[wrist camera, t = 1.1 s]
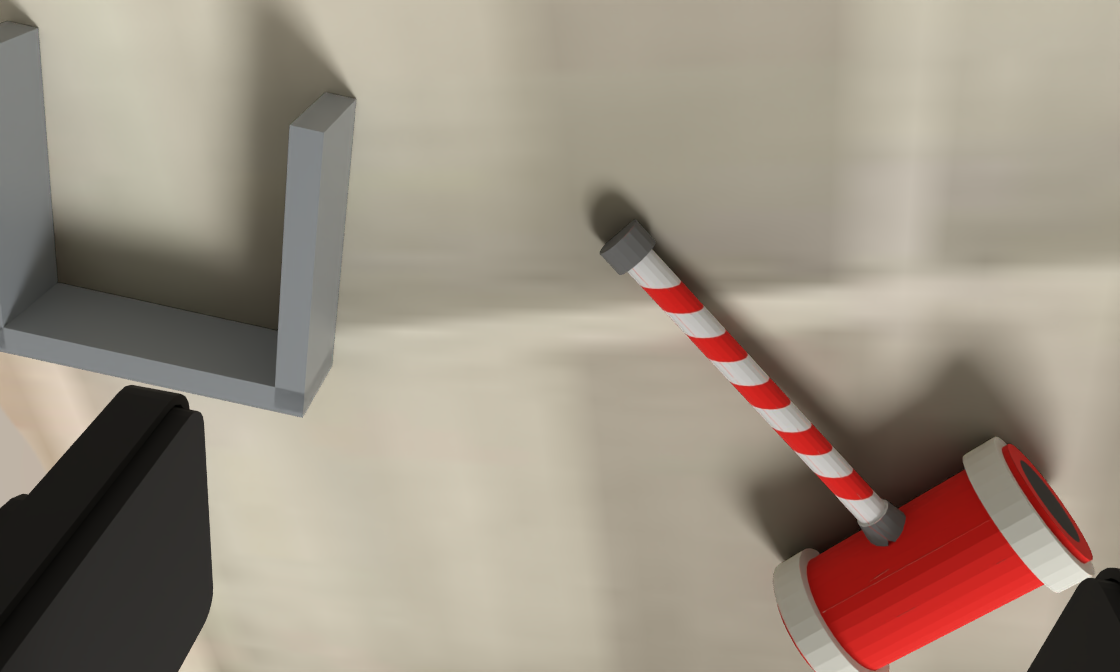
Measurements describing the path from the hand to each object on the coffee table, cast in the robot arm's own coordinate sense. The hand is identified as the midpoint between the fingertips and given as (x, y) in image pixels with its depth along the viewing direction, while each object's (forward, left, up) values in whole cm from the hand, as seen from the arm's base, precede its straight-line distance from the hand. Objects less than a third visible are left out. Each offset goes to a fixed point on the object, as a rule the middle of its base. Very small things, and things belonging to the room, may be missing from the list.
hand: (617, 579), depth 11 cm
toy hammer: (+16, +12, -28) cm, 35 cm away
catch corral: (+11, -17, -28) cm, 34 cm away
